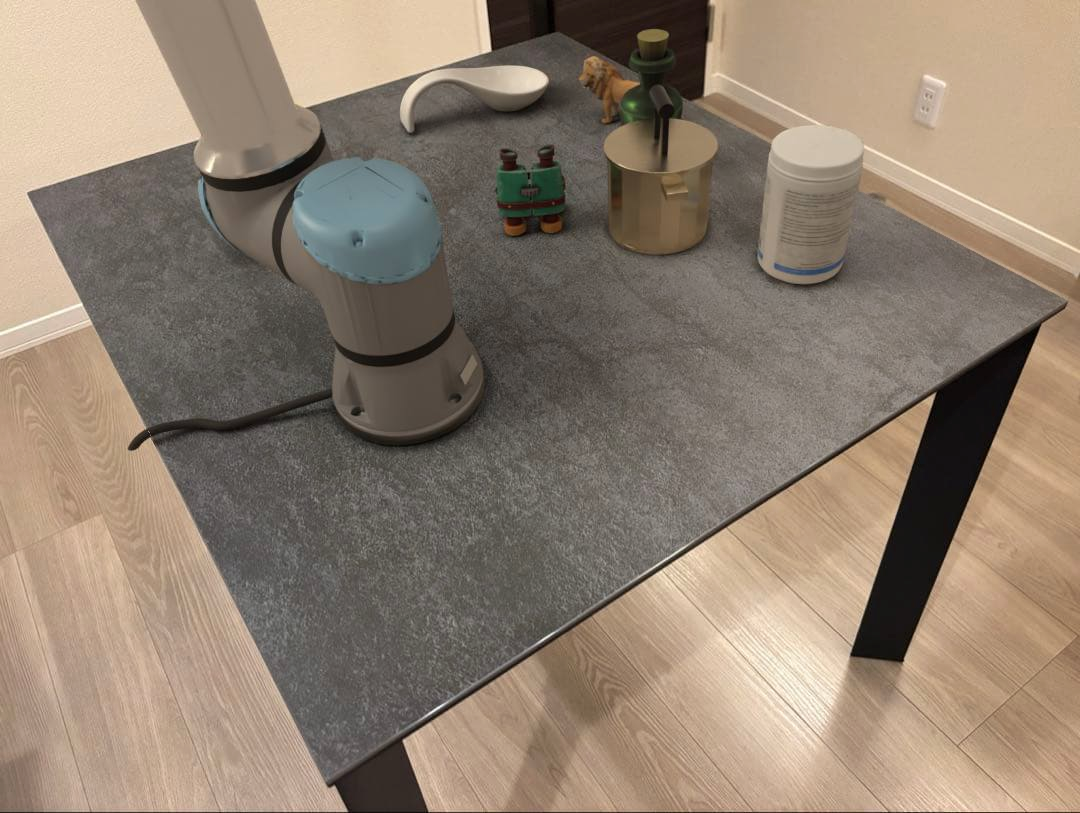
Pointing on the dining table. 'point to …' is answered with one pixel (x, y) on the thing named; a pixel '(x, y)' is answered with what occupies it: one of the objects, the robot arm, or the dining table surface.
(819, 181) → the supplement tub
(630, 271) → the dining table surface
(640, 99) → the potion bottle
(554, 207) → the toy field glasses
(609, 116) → the lion figurine
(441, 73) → the spoon rest
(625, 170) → the pot lid
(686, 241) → the pot
